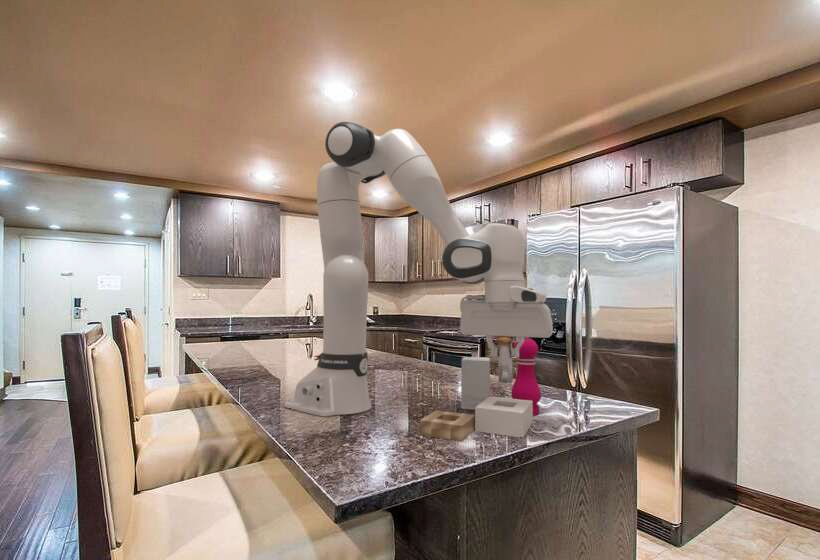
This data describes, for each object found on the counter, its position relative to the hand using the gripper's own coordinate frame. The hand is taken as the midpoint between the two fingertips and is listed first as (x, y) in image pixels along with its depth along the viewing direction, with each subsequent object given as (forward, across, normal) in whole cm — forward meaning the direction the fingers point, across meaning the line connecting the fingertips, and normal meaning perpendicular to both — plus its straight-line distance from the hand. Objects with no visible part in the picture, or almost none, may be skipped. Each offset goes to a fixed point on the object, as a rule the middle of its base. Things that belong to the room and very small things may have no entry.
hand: (505, 356), depth 94 cm
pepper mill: (+16, +2, +15) cm, 22 cm away
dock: (+15, 0, 0) cm, 15 cm away
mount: (+15, -10, -9) cm, 20 cm away
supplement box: (+16, -11, +15) cm, 24 cm away
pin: (+6, 0, 0) cm, 6 cm away
